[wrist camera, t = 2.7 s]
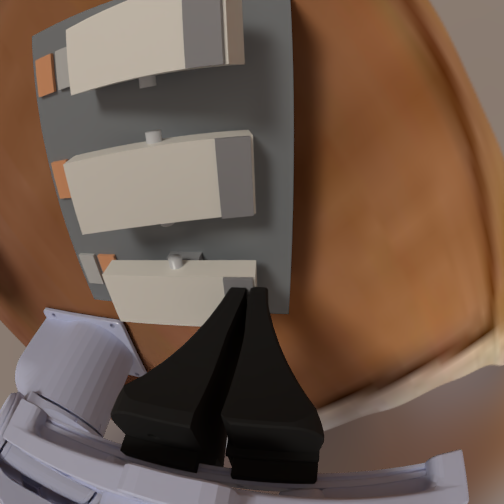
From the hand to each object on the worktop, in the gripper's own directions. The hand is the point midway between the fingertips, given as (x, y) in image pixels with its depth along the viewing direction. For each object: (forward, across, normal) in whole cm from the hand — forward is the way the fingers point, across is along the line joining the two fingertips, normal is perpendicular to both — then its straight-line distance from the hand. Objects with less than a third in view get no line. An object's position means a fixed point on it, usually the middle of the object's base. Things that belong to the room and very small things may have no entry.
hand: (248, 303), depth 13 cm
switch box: (+5, +4, -5) cm, 9 cm away
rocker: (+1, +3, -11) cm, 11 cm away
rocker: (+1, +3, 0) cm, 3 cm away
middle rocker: (+1, +3, -6) cm, 6 cm away
